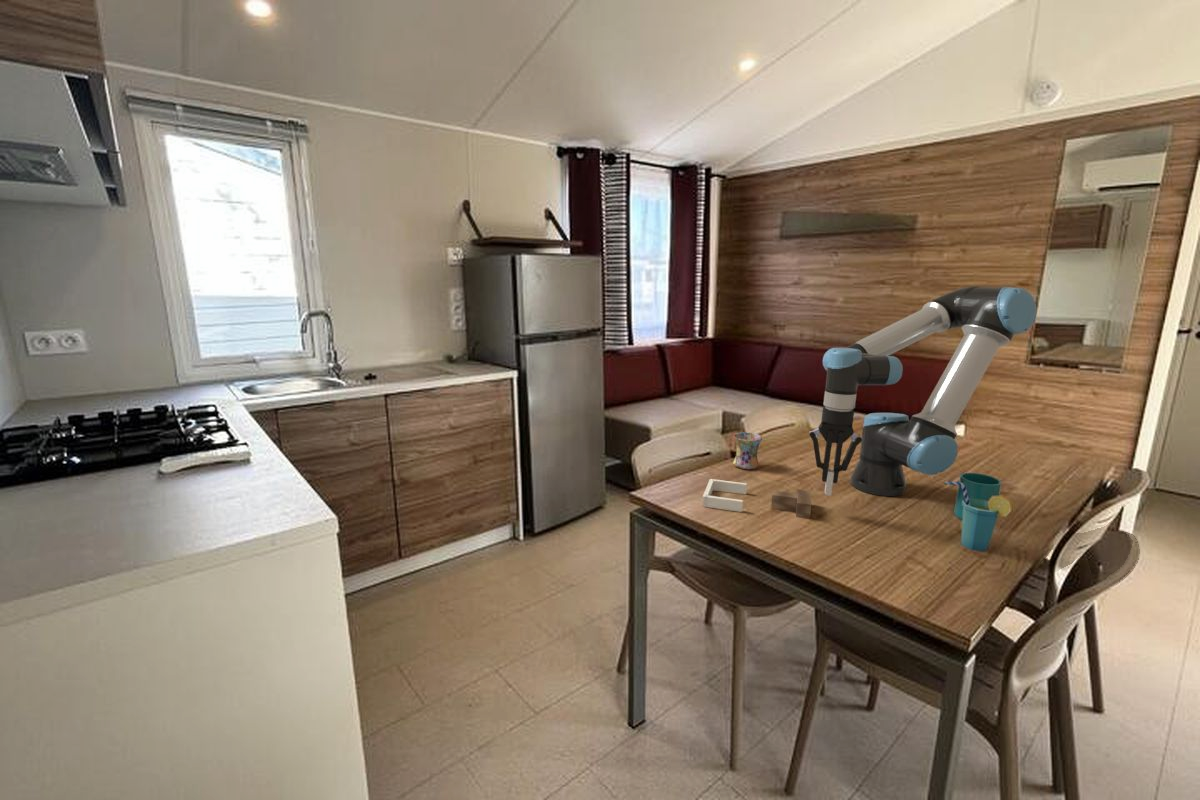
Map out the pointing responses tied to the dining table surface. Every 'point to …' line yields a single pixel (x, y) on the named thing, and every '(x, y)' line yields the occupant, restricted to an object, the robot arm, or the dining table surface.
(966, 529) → the cup
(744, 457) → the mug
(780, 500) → the t block
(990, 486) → the cup
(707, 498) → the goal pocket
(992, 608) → the dining table surface
